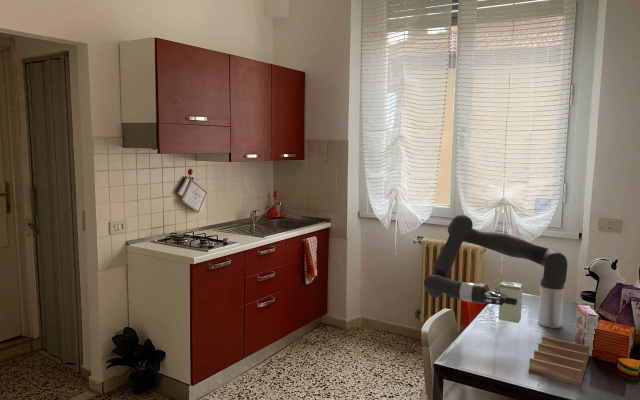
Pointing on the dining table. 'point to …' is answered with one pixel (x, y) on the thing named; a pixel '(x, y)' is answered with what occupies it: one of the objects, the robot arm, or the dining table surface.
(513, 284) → the tea tin
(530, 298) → the dining table surface
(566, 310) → the dining table surface
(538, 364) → the plate rack
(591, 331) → the candy bar box
